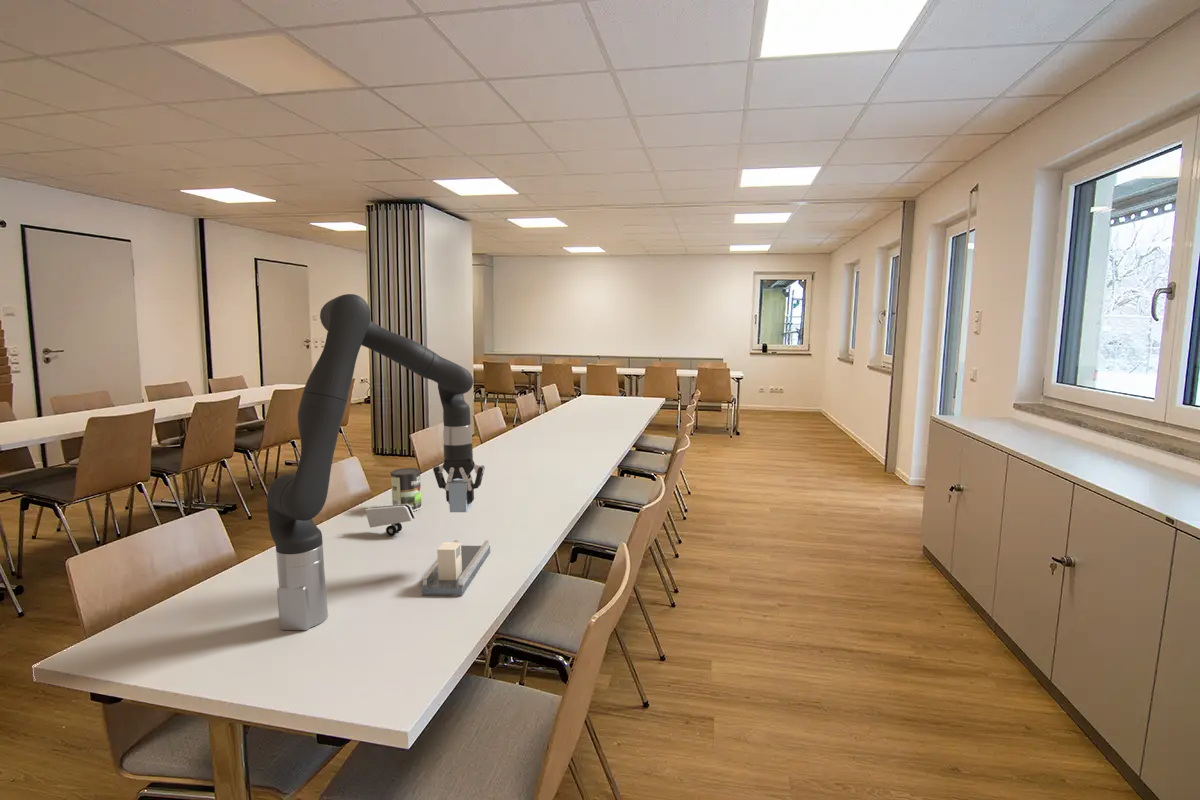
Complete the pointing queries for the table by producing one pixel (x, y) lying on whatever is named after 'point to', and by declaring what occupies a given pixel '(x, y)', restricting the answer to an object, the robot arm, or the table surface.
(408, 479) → the coffee can
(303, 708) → the table surface
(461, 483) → the block
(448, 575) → the block
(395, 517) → the grey wheeled device
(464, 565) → the tray
